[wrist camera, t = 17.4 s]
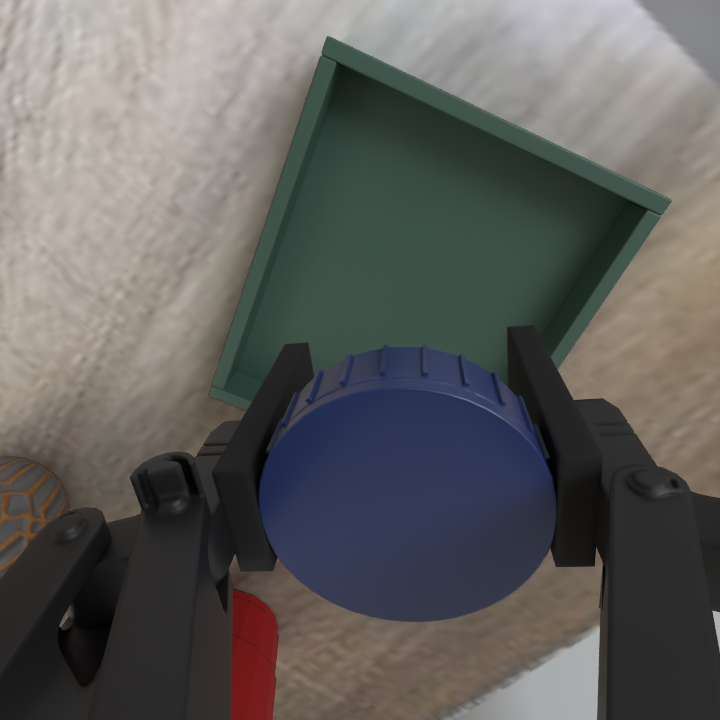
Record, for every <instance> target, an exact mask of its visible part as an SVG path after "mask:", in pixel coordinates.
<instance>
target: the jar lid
mask: <svg viewBox="0 0 720 720" xmlns="http://www.w3.org/2000/svg"><path fill="white" fill-rule="evenodd" d="M265 454H267V455H268V458H267V460H266V462H265V464H264V467H263V470H262V474H261V478H260V482H259V492H258V503H259V512H260V516H261V520H262V524H263V528H264V531H265V535H266V537H267V540H268V542H269V544H270V545H271V547H272V549H273V551H274V552H275V554H276V556H277V557H278V558H279V560H280V561H281V562H282V563H283V565H284V566H285V567H286V568H287V569H288V570H289V571H290V572H291V573H292V575H293V576H294V577H295V578H296V579H298V580H299V581H300V582H301V583H303V584H304V585H305V586H306V587H307V588H309V589H310V590H312V591H313V592H315V593H316V594H318V595H319V596H321V597H322V598H324V599H326V600H328V601H330V602H332V603H334V604H336V605H338V606H340V607H343V608H345V609H348V610H350V611H353V612H356V613H360V614H363V615H366V616H370V617H375V618H380V619H385V620H392V621H402V622H428V621H440V620H446V619H451V618H457V617H460V616H464V615H468V614H471V613H474V612H477V611H479V610H482V609H484V608H487V607H489V606H491V605H493V604H495V603H497V602H499V601H501V600H503V599H504V598H506V597H507V596H508V595H510V594H511V593H513V592H514V591H516V590H517V589H518V588H519V587H520V586H522V585H523V584H524V583H525V582H526V581H527V580H528V579H529V578H530V577H531V576H532V575H533V574H534V572H535V571H536V570H537V569H538V568H539V566H540V565H541V563H542V562H543V560H544V558H545V557H546V555H547V553H548V551H549V549H550V546H551V544H552V542H553V539H554V535H555V531H556V525H557V491H556V488H555V484H554V481H553V477H552V474H551V471H550V468H549V466H548V462H551V459H550V456H549V454H548V451H547V448H546V446H545V443H544V440H543V438H542V435H541V433H540V430H539V427H538V425H537V423H536V424H533V423H532V421H531V419H530V416H529V414H528V411H527V409H526V406H525V403H524V400H523V398H522V397H521V395H519V396H518V397H517V396H516V395H515V394H514V393H513V392H512V391H511V390H510V389H509V388H508V387H507V386H506V385H505V384H504V383H503V382H502V381H500V380H499V376H498V374H497V373H496V372H495V371H494V372H493V373H490V372H488V371H487V370H485V369H483V368H482V367H480V366H479V365H477V364H475V363H472V362H470V361H468V360H466V358H465V355H462V354H460V355H459V356H456V355H452V354H449V353H446V352H442V351H437V350H432V349H428V348H427V345H422V347H389V345H383V348H382V349H378V350H372V351H367V352H364V353H361V354H357V355H352V353H350V354H348V355H347V357H346V359H344V360H342V361H340V362H338V363H336V364H334V365H332V366H331V367H329V368H327V369H326V370H324V371H323V372H322V371H321V370H318V371H317V372H316V374H315V377H314V379H313V380H311V381H310V382H309V383H308V384H307V385H306V386H305V387H304V388H303V390H302V391H301V392H300V393H299V394H298V393H297V392H295V393H294V395H293V397H292V399H291V402H290V404H289V406H288V408H287V411H286V413H285V415H284V418H283V419H280V421H279V423H278V425H277V428H276V430H275V432H274V434H273V436H272V439H271V441H270V443H269V445H268V448H267V450H266V453H265Z"/></svg>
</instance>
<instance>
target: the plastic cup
mask: <svg viewBox="0 0 720 720" xmlns="http://www.w3.org/2000/svg"><path fill="white" fill-rule="evenodd" d="M278 638H279V637H278V626H277V621H276V617H275V615H274V613H273V612H272V611H271V610H270V608H269V607H268V606H267V605H266V604H265V603H264V602H262V601H261V600H259V599H257V598H256V597H254V596H253V595H250V594H247V593H244V592H240V591H237V590H233V611H232V676H231V720H272V718H273V707H274V697H275V687H276V677H275V669H276V659H277V649H278Z"/></svg>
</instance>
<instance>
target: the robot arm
mask: <svg viewBox="0 0 720 720" xmlns="http://www.w3.org/2000/svg"><path fill="white" fill-rule="evenodd" d="M507 359H508V388H509V389H510V390H511V391H512V392H513V393H514V394H515V395H516V396H517V397H518V396H519V395H521V397H522V398H523V400H524V403H525V406H526V409H527V411H528V414H529V416H530V419H531V421H532V423H533V424H536V423H537V425H538V427H539V430H540V433H541V435H542V438H543V440H544V443H545V446H546V448H547V451H548V454H549V456H550V459H551V462H548V466H549V468H550V471H551V474H552V477H553V481H554V484H555V488H556V491H557V525H556V531H555V535H554V539H553V542H552V544H551V546H550V549H551V552H552V555H553V559H554V562H555V565H556V567H585V566H595V554H596V547H597V549H598V552H599V554H600V557H601V559H602V562H603V569H602V581H601V592H600V604H599V608H601V614H600V646H599V647H600V648H599V679H598V711H597V720H720V651H719V646H718V640H717V635H716V630H715V623H714V618H713V612H712V610H713V611H717V612H720V498H716V497H710V496H705V495H701V494H697V493H694V492H691V491H690V489H689V487H688V485H687V483H686V481H684V480H683V479H682V478H681V477H679V476H678V475H677V474H676V473H673V472H671V471H669V470H667V469H665V468H662V467H658V466H657V465H656V464H655V462H654V461H653V459H652V458H651V456H650V455H649V453H648V452H647V450H646V449H645V447H644V446H643V444H642V443H641V441H640V440H639V438H638V437H637V435H636V434H634V431H633V429H632V428H631V426H630V425H629V424H627V420H626V419H625V417H624V416H623V414H622V413H621V411H620V410H619V408H617V407H615V406H614V405H612V404H611V403H609V402H608V401H606V400H604V399H603V398H602V399H584V400H573V398H572V396H571V394H570V393H569V391H568V389H567V387H566V385H565V383H564V381H563V379H562V377H561V376H560V374H559V372H558V370H557V368H556V366H555V364H554V362H553V360H552V359H551V357H550V355H549V353H548V351H547V349H546V347H545V345H544V344H543V342H542V340H541V338H540V336H539V334H538V332H537V330H536V328H535V327H534V325H524V326H511V327H507ZM313 379H314V372H313V366H312V361H311V355H310V350H309V344H308V342H306V343H294V344H285V345H284V346H283V348H282V350H281V352H280V353H279V355H278V357H277V359H276V361H275V362H274V364H273V366H272V368H271V369H270V371H269V373H268V375H267V376H266V378H265V380H264V382H263V383H262V385H261V387H260V389H259V390H258V392H257V394H256V396H255V397H254V399H253V401H252V403H251V404H250V406H249V408H248V410H247V411H246V413H245V415H244V417H243V418H242V420H241V421H226V422H224V423H223V424H221V425H220V426H219V427H217V428H216V429H215V430H214V431H212V432H211V433H210V435H209V436H208V438H207V440H206V441H205V443H204V444H203V445H204V446H203V447H201V449H200V450H199V452H198V454H197V456H196V457H195V458H194V457H193V456H192V455H190V454H189V453H184V452H171V453H165V454H162V455H159V456H156V457H153V458H152V459H150V460H148V461H146V462H144V463H143V464H141V465H140V466H139V467H138V468H137V469H135V470H134V472H133V474H132V475H131V477H130V479H131V482H132V485H133V487H134V490H135V493H136V495H137V498H138V501H139V503H140V506H141V509H142V511H141V514H139V515H136V516H133V517H129V518H125V519H121V520H117V521H114V522H110V523H106V520H105V518H104V515H103V513H102V512H101V511H100V510H98V509H96V508H81V509H76V510H72V511H69V512H67V513H64V514H62V515H60V516H59V517H57V518H56V519H54V520H52V521H51V522H49V523H48V524H47V525H46V526H45V527H44V528H43V529H42V530H41V531H39V533H38V534H37V535H36V536H35V538H34V539H33V540H32V541H31V543H30V544H29V545H28V546H27V547H26V549H25V550H24V551H23V552H22V554H21V555H20V556H19V557H18V558H17V560H16V561H15V562H14V563H13V565H12V566H11V567H10V568H9V570H8V571H7V572H6V573H5V574H4V576H3V577H2V578H1V579H0V720H231V676H232V611H233V583H232V579H231V576H230V572H229V567H230V564H231V562H232V559H233V557H234V554H236V557H237V561H238V564H239V567H240V571H273V570H274V567H275V564H276V560H277V556H276V554H275V552H274V551H273V549H272V547H271V545H270V544H269V542H268V540H267V537H266V535H265V531H264V528H263V524H262V520H261V516H260V512H259V503H258V492H259V482H260V478H261V474H262V470H263V467H264V464H265V462H266V460H267V458H268V455H267V454H265V453H266V450H267V448H268V445H269V443H270V441H271V439H272V436H273V434H274V432H275V430H276V428H277V425H278V423H279V421H280V419H283V418H284V415H285V413H286V411H287V408H288V406H289V404H290V402H291V399H292V397H293V395H294V393H295V392H297V393H298V394H299V393H300V392H301V391H302V390H303V388H304V387H305V386H306V385H307V384H308V383H309V382H310V381H311V380H313ZM66 611H67V612H68V614H69V617H68V618H67V620H66V622H65V623H64V624H63V626H62V627H61V628H60V627H59V625H60V623H61V620H62V618H63V616H64V614H65V613H66Z"/></svg>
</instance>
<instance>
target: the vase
mask: <svg viewBox="0 0 720 720" xmlns="http://www.w3.org/2000/svg"><path fill="white" fill-rule="evenodd" d="M67 512H69V504H68V499H67V496H66V493H65V490H64V488H63V486H62V484H61V482H60V481H59V479H58V478H57V477H56V476H55V475H54V474H53V473H52V472H51V471H50V470H49V469H47V468H46V467H44V466H42V465H40V464H38V463H36V462H33V461H30V460H26V459H21V458H14V457H0V579H1V578H2V577H3V576H4V574H5V573H6V572H7V571H8V570H9V568H10V567H11V566H12V565H13V563H14V562H15V561H16V560H17V558H18V557H19V556H20V555H21V554H22V552H23V551H24V550H25V549H26V547H27V546H28V545H29V544H30V543H31V541H32V540H33V539H34V538H35V536H36V535H37V534H38V533H39V531H41V530H42V529H43V528H44V527H45V526H46V525H47V524H48V523H49V522H51V521H52V520H54V519H56V518H57V517H59V516H60V515H62V514H64V513H67Z"/></svg>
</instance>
